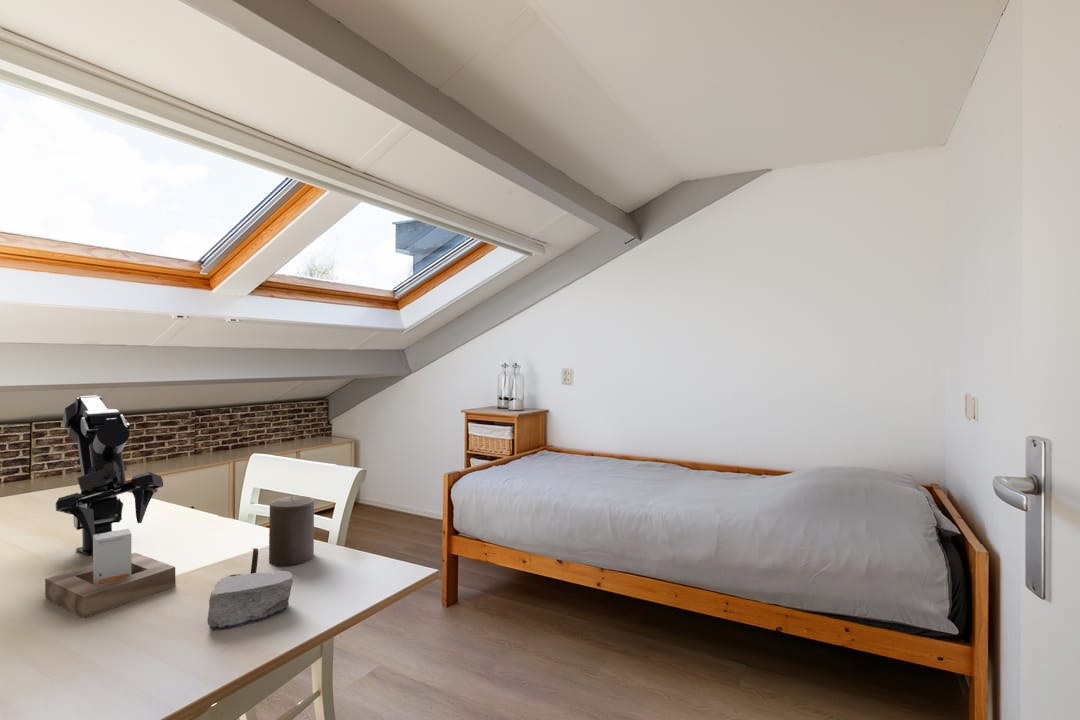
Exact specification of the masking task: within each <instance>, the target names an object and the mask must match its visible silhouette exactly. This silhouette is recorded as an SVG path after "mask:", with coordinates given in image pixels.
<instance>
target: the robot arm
mask: <svg viewBox="0 0 1080 720" xmlns="http://www.w3.org/2000/svg"><path fill="white" fill-rule="evenodd" d="M62 416H63V417H62V425H63V429H66V430H67V431H66V432H67V436H68V438H70V439H71V440H72V441H73V442H74V443H76V445H77V451H78V457H79V464H80V471H81V476H78V477H76V479H77V482H78V485H79V490H80V493H79V492H75V493H72V494H69V495H65V496H61V497H58V499H57V501H56V502H55V511H56V512H60V513H64V514H68V515H73V517H72V519H73V527H74V528H75V529H76V531H79V530H81V531H82V533H81V534H82V536H81V537H82V539H81V540H82V546H79V547H77V548H75V550H76V552H79V553H82V554H84V555H87V556H90V555H93V535H96V534H102V533H107V532H111V531H113V524H116V523H120V522H121V521H122V520H123V518H122V516H123V515H122V513H123V509H124V508H123V507H124V503H123V502H122V500H121V498H120V497H118V496H119V495H121V494H125V493H128V492H132V495H133V497H134V498H133V499H134V504H135V505H134V508H135V518H136V523H137V524H141V523H142V522H143V520H144V517H145V515H146V514H145V513H146V511H147V508H148V507H149V506H148V505H149V504H150V501H151V499H152V498H153V495H154V494H155V493H158V489H159V488H163V487H164V481H163V477H162V476H161V475H159V474H157V473H154V472H151V471H147V472H143V473H140V474H137V475H133V476H132V478H131V482H127V479H126V472H125V471H127V470H128V467H127V465H125V464H124V457H123V450H124V448H125V446H126V445H127V443H128V440H129V438H130V433H131V432H130V423H129V422H128V420H127V419H126V418H125V417H124V415H123V414H121V412H120V410H118V409H116V408H108V407H107V406H106V404H104V403H103V398H102V396H100V395H99V396H98V395H82V396H81V395H79V396H78V397H77V396H76V397H75V400H74V402H73V403H71V404H69V405H68V406H66V407H65V408H64V411H63V415H62Z"/></svg>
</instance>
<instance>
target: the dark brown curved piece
mask: <svg viewBox="0 0 1080 720" xmlns="http://www.w3.org/2000/svg"><path fill="white" fill-rule="evenodd" d="M258 561H259V548H258V547H256V548H255V547H254V548H252V557H251V567H250V574H253V573H257V568H258ZM236 575H243V574H242V573H241V574H239V573H238V574H237V573H236V574H231V575H229V576H236Z"/></svg>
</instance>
